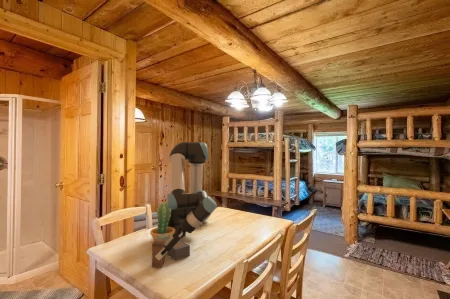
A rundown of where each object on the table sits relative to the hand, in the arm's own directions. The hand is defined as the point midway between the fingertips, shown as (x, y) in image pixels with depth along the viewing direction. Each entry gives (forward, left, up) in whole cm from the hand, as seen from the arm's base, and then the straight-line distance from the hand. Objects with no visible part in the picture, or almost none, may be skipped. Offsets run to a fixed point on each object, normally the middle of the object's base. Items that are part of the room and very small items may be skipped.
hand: (161, 252), depth 117 cm
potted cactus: (-24, +18, -7) cm, 31 cm away
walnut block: (-2, 0, -7) cm, 8 cm away
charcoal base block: (-3, +14, -8) cm, 16 cm away
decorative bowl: (-40, +61, -8) cm, 73 cm away
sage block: (-12, +10, -7) cm, 17 cm away
